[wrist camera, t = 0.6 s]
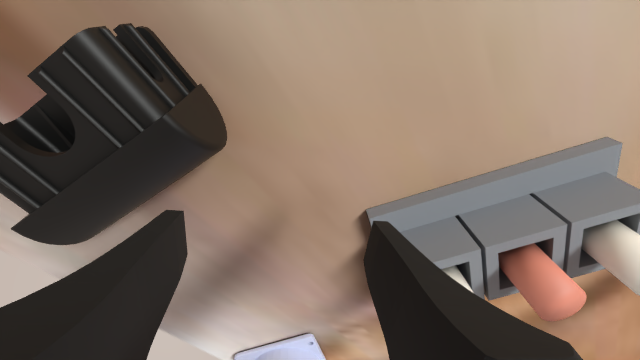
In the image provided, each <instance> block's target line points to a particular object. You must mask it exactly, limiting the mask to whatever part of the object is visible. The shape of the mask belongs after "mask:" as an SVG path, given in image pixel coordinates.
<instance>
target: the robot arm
mask: <svg viewBox="0 0 640 360" xmlns="http://www.w3.org/2000/svg"><path fill="white" fill-rule="evenodd" d="M186 258H187V243H186V233H185V222H184V211H175V210H166V211H164V212H163V213H161V214H160V215H159V216H157V217H156V218H155V219H153V220H152V221H151V222H149V223H148V224H147V225H145V226H144V227H143V228H141V229H140V230H139V231H137V232H136V233H134V234H133V235H132V236H130V237H129V238H128V239H126V240H125V241H123V242H122V243H120V244H119V245H117V246H116V247H114V248H113V249H111V250H110V251H108V252H107V253H105V254H104V255H102V256H101V257H99V258H98V259H96V260H94V261H93V262H91V263H90V264H88V265H86V266H84V267H83V268H81V269H79V270H77V271H76V272H74V273H72V274H70V275H68V276H67V277H65V278H63V279H61V280H59V281H57V282H55V283H53V284H51V285H49V286H47V287H45V288H43V289H41V290H38V291H36V292H35V293H32V294H30V295H28V296H26V297H24V298H22V299H20V300H17V301H15V302H12V303H10V304H8V305H6V306H3V307H1V308H0V360H146V359H147V356H148V353H149V350H150V347H151V345H152V342H153V340H154V337H155V335H156V332H157V330H158V328H159V326H160V323H161V321H162V319H163V317H164V314H165V312H166V310H167V308H168V306H169V303H170V301H171V299H172V297H173V294H174V292H175V290H176V288H177V285H178V283H179V281H180V278H181V275H182V272H183V268H184V265H185V261H186ZM364 265H365V272H366V277H367V283H368V286H369V290H370V293H371V296H372V299H373V303H374V306H375V309H376V312H377V315H378V318H379V321H380V325H381V328H382V331H383V334H384V338H385V341H386V345H387V349H388V354H389V359H390V360H583V359H582V358H581V357H580V356H579V354H578V353H577V352H576V351H575V350H574V348H573V347H572V346H571V345H570V344H569V343H568V342H566V341H564V340H562V339H559V338H557V337H555V336H553V335H551V334H548V333H546V332H544V331H542V330H540V329H537V328H535V327H533V326H531V325H529V324H527V323H525V322H523V321H521V320H519V319H517V318H515V317H514V316H512V315H510V314H508V313H506V312H504V311H502V310H501V309H499V308H497V307H495V306H494V305H492V304H490V303H489V302H487V301H486V300H484V299H482V298H481V297H479V296H477V295H476V294H474V293H473V292H471V291H470V290H468V289H467V288H465V287H464V286H463V285H461V284H460V283H458V282H457V281H456V280H454V279H453V278H451V277H450V276H449V275H447V274H446V273H445V272H444V271H442V270H441V269H440V268H439V267H437V266H436V265H435V264H434V263H433V262H431V261H430V260H429V259H428V258H427V257H426V256H425V255H423V254H422V253H421V252H420V251H419V250H418V249H417V248H416V247H415V246H414V245H413V244H412V243H410V242H409V241H408V240H407V239H406V238H405V237H404V236H403V235H402V234H401V233H400V232H399V231H398V230H397V229H396V228H395V227H394V226H393V225H392V224H390V223H389V222H388V221H373V223H372V228H371V232H370V236H369V240H368V244H367V249H366V253H365V257H364ZM234 360H326V359H325V357H324V355H323V353H322V351H321V349H320V347H319V345H318V343H317V341H316V339H315V337H314V335H313V334H305V335H301V336H298V337H294V338H291V339H287V340H283V341H280V342H276V343H273V344H269V345H265V346H262V347H258V348H255V349H251V350H247V351H244V352H240V353H237V354H236V355H235V357H234Z"/></svg>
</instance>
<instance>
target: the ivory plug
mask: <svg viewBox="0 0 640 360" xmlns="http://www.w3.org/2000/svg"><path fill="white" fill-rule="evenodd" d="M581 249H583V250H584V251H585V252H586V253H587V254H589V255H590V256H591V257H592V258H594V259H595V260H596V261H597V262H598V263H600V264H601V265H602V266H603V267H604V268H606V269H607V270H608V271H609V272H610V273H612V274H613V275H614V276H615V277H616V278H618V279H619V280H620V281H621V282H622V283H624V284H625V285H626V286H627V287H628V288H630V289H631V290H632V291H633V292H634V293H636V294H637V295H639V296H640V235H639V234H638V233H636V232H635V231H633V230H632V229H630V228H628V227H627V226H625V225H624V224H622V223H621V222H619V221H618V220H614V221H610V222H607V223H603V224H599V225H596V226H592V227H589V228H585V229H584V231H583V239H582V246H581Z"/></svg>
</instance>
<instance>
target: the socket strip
mask: <svg viewBox="0 0 640 360" xmlns="http://www.w3.org/2000/svg"><path fill="white" fill-rule="evenodd" d="M621 149H622V143H621V142H619V141H616V140H614V139H611V138H609V137H605V138H602V139H598V140H595V141H592V142H588V143H585V144H582V145H579V146H575V147H572V148H569V149H565V150H562V151H559V152H555V153H552V154H549V155H545V156H542V157H539V158H535V159H532V160H529V161H525V162H522V163H519V164H516V165H512V166H509V167H506V168H502V169H499V170H496V171H492V172H489V173H486V174H482V175H479V176H476V177H472V178H469V179H466V180H462V181H459V182H456V183H452V184H449V185H446V186H443V187H439V188H436V189H433V190H429V191H426V192H423V193H419V194H416V195H413V196H409V197H406V198H403V199H399V200H396V201H393V202H389V203H386V204H383V205H380V206H376V207H373V208H370V209H366V211H367V215H368V218H369V222H370V225H371V228H372V223H373V221H388V222H389V223H390V224H392V225H393V226H394V227H395V228H396V229H397V230H398V231H399V232H400V233H401V234H402V235H403V236H404V237H405V238H406V239H407V240H408V241H409V242H410V243H412V244H413V245H414V246H415V247H416V248H417V249H418V250H419V251H420V252H421V253H422V254H423V255H425V256H426V257H427V258H428V259H429V260H430V261H431V262H433V263H434V264H435V265H436V266H437V267H439V268H440V269H444V268H448V267H451V266H455V265H456V266H457V268H458V269H459V271H460V272H461V274H462V275H463V277H464V278H465V280H466V282H467V283H468V285H469V286H470V288H471V289H472V291H473V292H474V294H476V295H477V296H479V297H481V298H482V299H484V294H485V296H486V297H487V299H488V300H493V299H496V298H500V297H504V296H507V295H511V294H515V293H518V292H519V291H518V289H517V288H516V287H515V286H514V284H513V283H512V282H511V281H510V279H509V278H508V277H507V276H506V274H505V273H504V272H503V271H502V270H501V268H500V267H499V261H498V253H501V252H504V251H508V250H511V249H515V248H518V247H522V246H525V245H529V244H532V243H535V244H536V245H537V246H538V247H539V248H540V249H541V250H542V251H543V252H544V253H545V254H546V255H547V256H548V257H549V258H550V259H551V260H552V261H553V262H554V263H555V264H557V265H558V266H559V267H560V268H561V269H562V270H563V271H564V272H565V273H566V274H567V275H568V276H569V277H570V278H573V277H577V276H580V275H584V274H588V273H591V272H595V271H599V270H602V269H606V268H604V267H603V266H602V265H601V264H600V263H598V262H597V261H596V260H595V259H594V258H592V257H591V256H590V255H589V254H587V253H586V252H585V251H584V250H583V249H581V246H582V239H583V231H584V229H585V228H589V227H592V226H596V225H599V224H603V223H607V222H610V221H614V220H618V221H619V222H621V223H622V224H624V225H625V226H627V227H628V228H630V229H632V230H633V231H635V232H636V233H638V234H639V235H640V189H638V188H636V187H634V186H632V185H630V184H628V183H626V182H624V181H622V180H621V179H619V178H617V171H618V166H619V160H620V154H621ZM484 300H485V299H484Z"/></svg>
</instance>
